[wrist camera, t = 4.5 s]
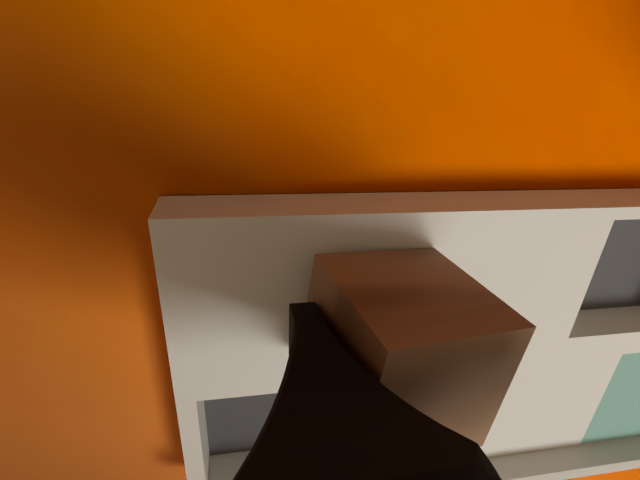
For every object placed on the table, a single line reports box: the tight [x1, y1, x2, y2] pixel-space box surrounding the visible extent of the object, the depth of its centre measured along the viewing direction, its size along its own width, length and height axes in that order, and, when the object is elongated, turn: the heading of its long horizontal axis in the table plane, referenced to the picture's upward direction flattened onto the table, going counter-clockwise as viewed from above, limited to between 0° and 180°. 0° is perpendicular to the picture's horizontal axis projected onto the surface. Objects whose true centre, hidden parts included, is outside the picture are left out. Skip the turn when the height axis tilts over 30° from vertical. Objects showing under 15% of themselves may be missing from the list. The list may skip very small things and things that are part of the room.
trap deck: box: [148, 188, 640, 480], centre depth 18 cm, size 14×26×3 cm, turn 87°
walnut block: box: [307, 248, 536, 446], centre depth 13 cm, size 4×4×4 cm
